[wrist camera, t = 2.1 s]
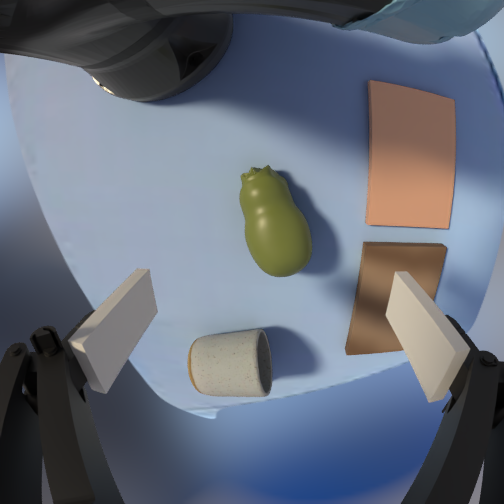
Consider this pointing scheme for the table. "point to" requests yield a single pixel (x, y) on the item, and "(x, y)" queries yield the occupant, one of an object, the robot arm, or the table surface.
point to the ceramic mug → (231, 364)
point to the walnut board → (388, 290)
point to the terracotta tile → (410, 157)
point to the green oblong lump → (274, 224)
